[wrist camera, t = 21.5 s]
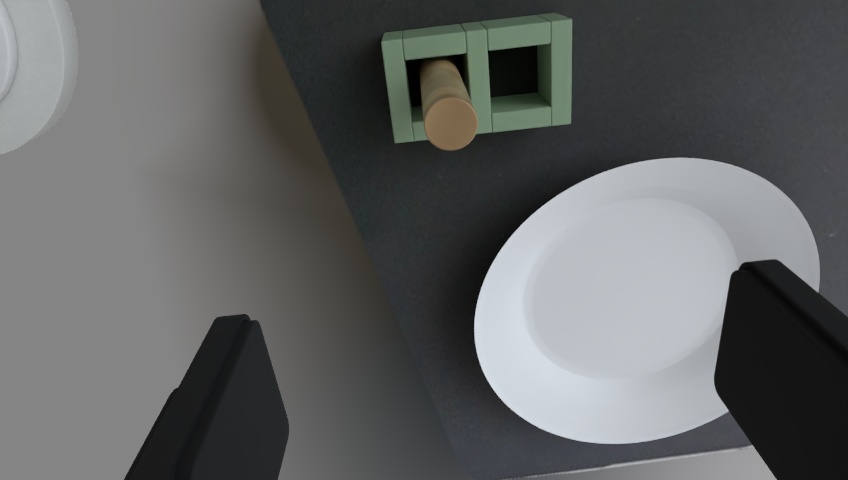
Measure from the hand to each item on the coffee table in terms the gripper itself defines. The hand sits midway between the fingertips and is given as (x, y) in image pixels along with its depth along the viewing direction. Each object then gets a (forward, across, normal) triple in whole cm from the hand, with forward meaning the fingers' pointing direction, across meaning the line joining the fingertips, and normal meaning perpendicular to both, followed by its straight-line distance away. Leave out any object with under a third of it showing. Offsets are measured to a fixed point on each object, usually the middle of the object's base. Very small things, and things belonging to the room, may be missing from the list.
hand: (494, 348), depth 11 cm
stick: (+28, 0, 0) cm, 28 cm away
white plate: (+28, -13, +18) cm, 37 cm away
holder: (+28, -2, 0) cm, 28 cm away
